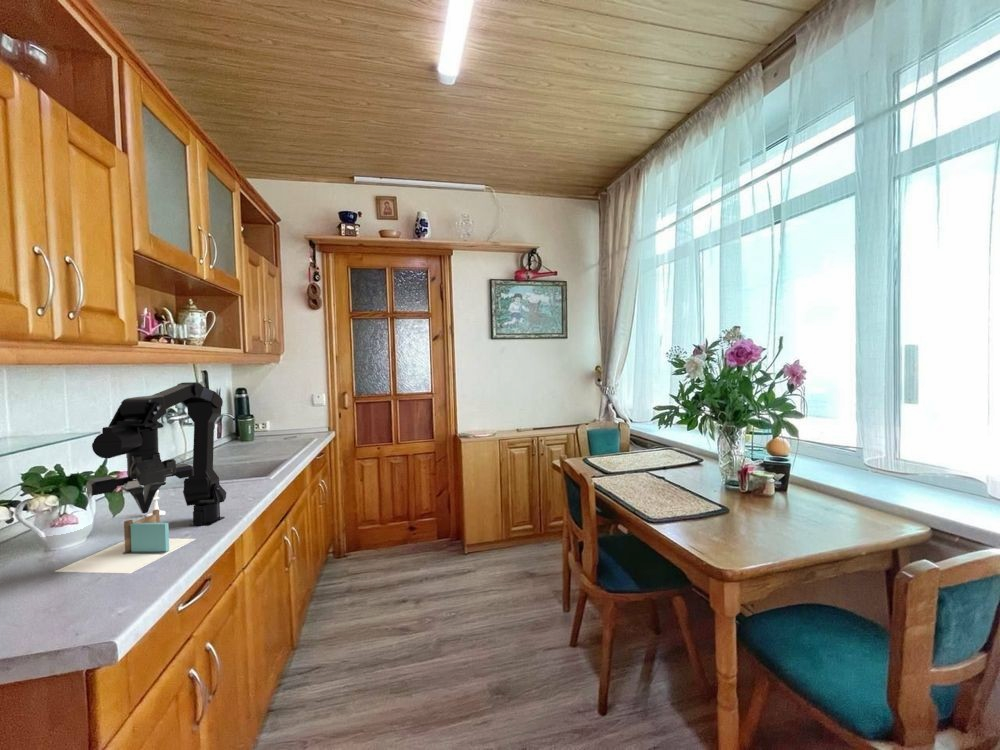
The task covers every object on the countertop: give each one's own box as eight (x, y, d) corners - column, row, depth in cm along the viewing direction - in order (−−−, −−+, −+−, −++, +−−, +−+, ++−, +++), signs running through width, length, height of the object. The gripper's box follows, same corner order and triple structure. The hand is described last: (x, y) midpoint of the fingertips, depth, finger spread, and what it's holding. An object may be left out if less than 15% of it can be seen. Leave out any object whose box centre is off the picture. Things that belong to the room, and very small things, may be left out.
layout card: (131, 539, 110) (131, 537, 110) (196, 540, 108) (195, 538, 108) (54, 573, 92) (54, 571, 92) (130, 575, 90) (130, 572, 90)
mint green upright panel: (131, 551, 101) (130, 524, 100) (135, 549, 102) (134, 522, 101) (165, 551, 100) (165, 524, 100) (169, 549, 101) (168, 522, 101)
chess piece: (149, 514, 129) (148, 483, 128) (168, 511, 130) (167, 482, 130) (142, 519, 124) (141, 488, 124) (161, 517, 126) (160, 486, 126)
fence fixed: (156, 537, 109) (155, 509, 109) (162, 537, 109) (160, 509, 109) (123, 553, 100) (122, 522, 100) (129, 553, 100) (128, 522, 100)
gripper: (97, 461, 83) (99, 533, 84) (201, 445, 99) (203, 507, 99) (84, 455, 90) (87, 523, 90) (184, 441, 105) (186, 499, 105)
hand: (144, 512), depth 96 cm, fingers closed
